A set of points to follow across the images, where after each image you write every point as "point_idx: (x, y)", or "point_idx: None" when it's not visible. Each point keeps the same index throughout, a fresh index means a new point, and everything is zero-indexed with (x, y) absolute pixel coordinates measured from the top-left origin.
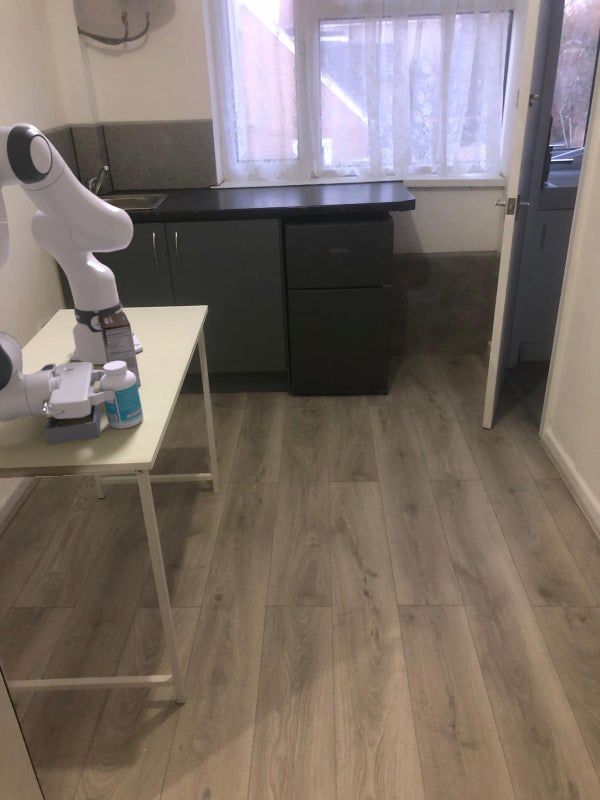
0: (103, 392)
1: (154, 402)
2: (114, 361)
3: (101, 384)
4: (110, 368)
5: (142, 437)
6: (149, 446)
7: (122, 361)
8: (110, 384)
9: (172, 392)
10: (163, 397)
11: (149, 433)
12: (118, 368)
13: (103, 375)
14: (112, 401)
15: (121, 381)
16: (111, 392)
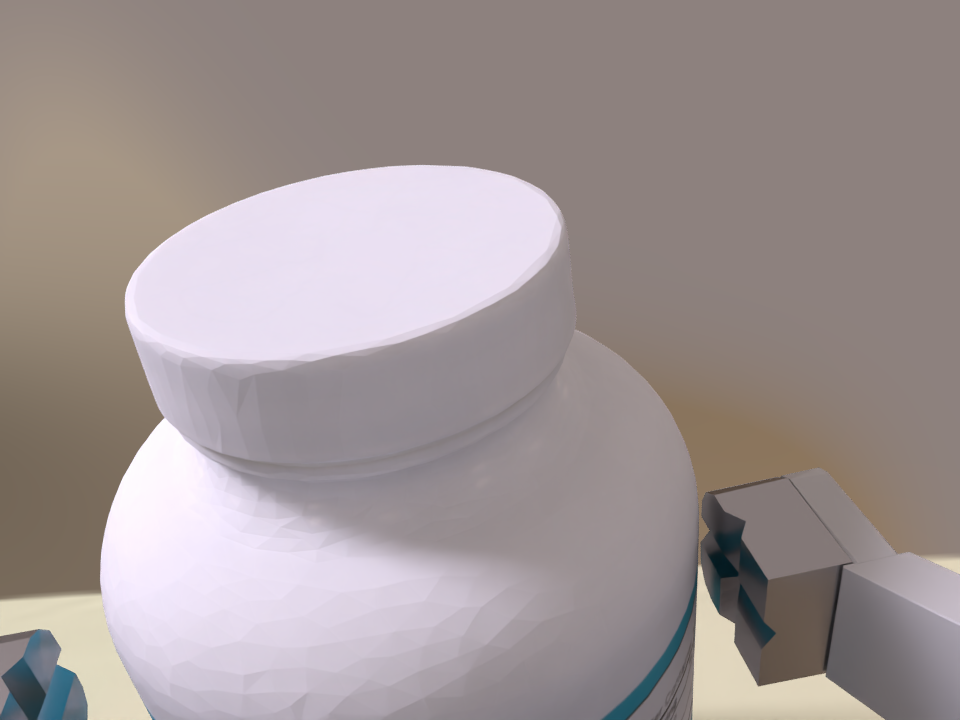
0: (895, 561)
1: None
2: (154, 277)
3: (598, 645)
4: (491, 249)
5: None
6: None
7: (225, 212)
8: (672, 462)
9: (38, 598)
10: (90, 643)
11: (718, 620)
12: (521, 182)
13: (285, 621)
14: (692, 688)
15: (602, 347)
16: (825, 483)
